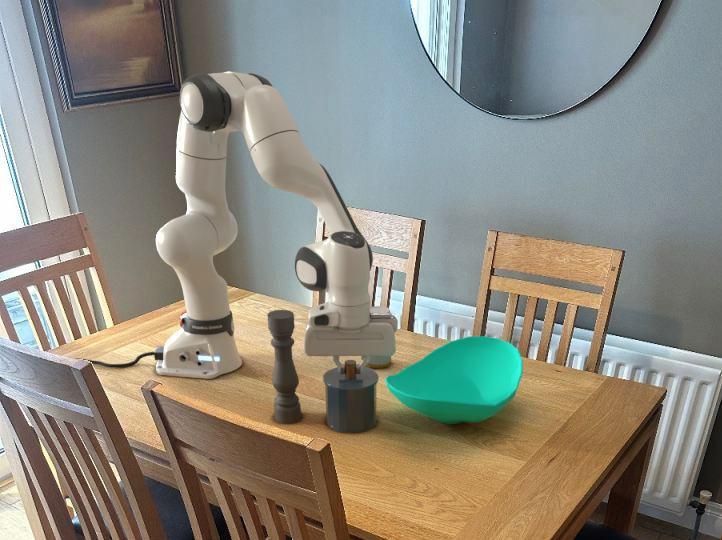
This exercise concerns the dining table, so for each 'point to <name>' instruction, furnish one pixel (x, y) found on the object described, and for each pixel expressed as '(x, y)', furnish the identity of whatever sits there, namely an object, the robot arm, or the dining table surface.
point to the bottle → (379, 360)
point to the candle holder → (284, 367)
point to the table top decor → (461, 380)
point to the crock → (351, 409)
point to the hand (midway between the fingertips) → (350, 373)
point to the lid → (350, 378)
